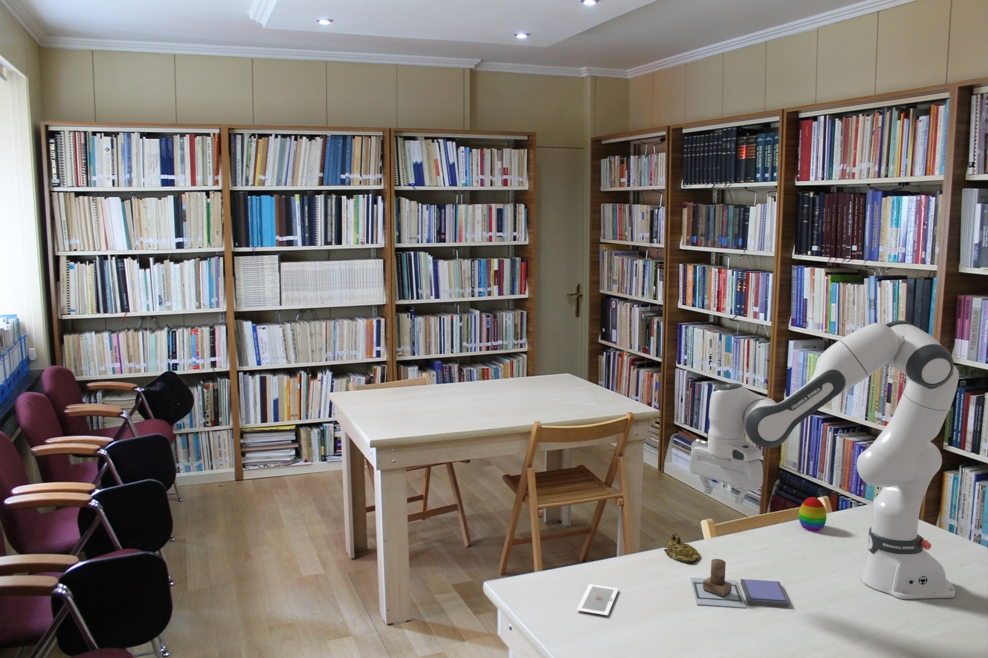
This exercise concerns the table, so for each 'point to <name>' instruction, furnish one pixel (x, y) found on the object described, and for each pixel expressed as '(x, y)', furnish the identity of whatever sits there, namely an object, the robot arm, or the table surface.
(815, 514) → the decorative egg
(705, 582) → the stamp
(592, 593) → the touchpad
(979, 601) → the table surface
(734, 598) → the marked card
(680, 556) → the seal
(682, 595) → the table surface
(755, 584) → the ink pad
